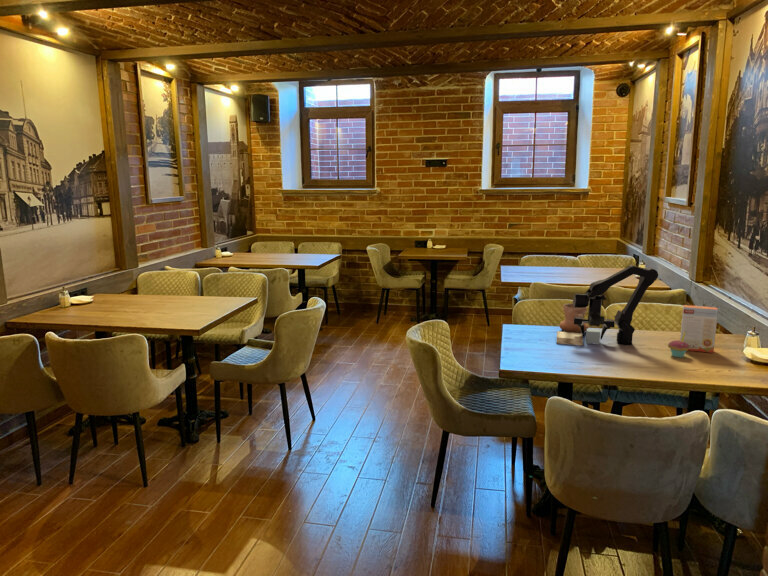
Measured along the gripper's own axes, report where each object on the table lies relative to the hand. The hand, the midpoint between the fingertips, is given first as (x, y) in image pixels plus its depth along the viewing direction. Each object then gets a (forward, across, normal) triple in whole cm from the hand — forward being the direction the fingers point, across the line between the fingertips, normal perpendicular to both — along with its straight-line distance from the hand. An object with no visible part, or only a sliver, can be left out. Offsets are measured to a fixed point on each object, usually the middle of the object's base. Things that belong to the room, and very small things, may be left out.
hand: (592, 338), depth 276 cm
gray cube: (+2, 0, 0) cm, 2 cm away
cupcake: (+1, +36, -12) cm, 38 cm away
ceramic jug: (+2, -9, +18) cm, 20 cm away
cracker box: (+1, +46, +1) cm, 46 cm away
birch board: (+2, -11, -2) cm, 11 cm away
